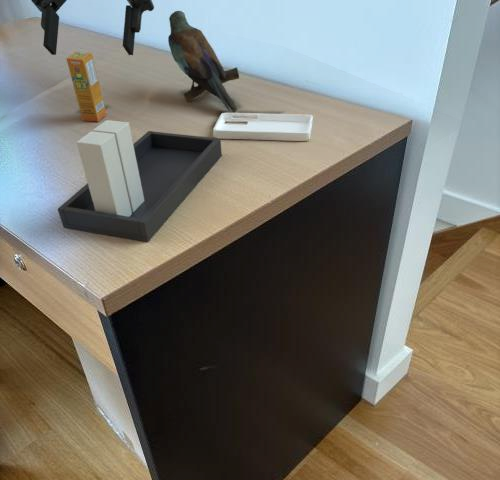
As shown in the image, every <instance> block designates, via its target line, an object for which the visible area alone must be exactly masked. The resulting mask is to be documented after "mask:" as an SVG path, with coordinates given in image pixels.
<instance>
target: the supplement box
mask: <svg viewBox="0 0 500 480" xmlns="http://www.w3.org/2000/svg"><path fill="white" fill-rule="evenodd" d="M65 59H66V63H67V66H68V70H69V74H70V77H71V81H72V85H73V89H74V93H75V97H76V101H77V104H78V108H79V112H80V116H81V119H82V121H84V122H94V123H98V122H100V121H101V120H103V119H104V118H105V117H106V116H107V110H106V108H105V107H106V106H105V103H104V99H103V95H102V90H101V86H100V81H99V77H98V74H97V69H96V65H95V60H94V56H93V53H92V52H81V51H74V52H73V53H71V54H69V56H67V57H66V58H65Z"/></svg>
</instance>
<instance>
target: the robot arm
mask: <svg viewBox="0 0 500 480" xmlns="http://www.w3.org/2000/svg"><path fill="white" fill-rule="evenodd" d="M67 1H68V0H31V2H32V4H33V5H34V6H35V7H36V8H37V10H38V11H39V12H40V13H41V18H40V27H41V29H42V30H43V42H42V43H43V45H42V46H43V47H44V48H45V49H46V50H47V51H48V53H49V54H50V55H51V56H56V55H57V48H58V37H59V27H60V26H59V25H60V15H59V14H58V13H57V12H58V11H59V10H60V9H61V8H62V7H63V6H64V4H65V3H66V2H67ZM126 1H127V3H128V5H125V13H124V25H123V34H122V35H123V36H122V48H123V49H124V50H125V52H126V53H127V54H128V56H134V50H135V38H136V33H137V34H138V33H140V32H141V28H142V18H143V14H144V12H146V11H148V12H152V11H153V10H154V9H155V5H154V3H153V0H126Z"/></svg>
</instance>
